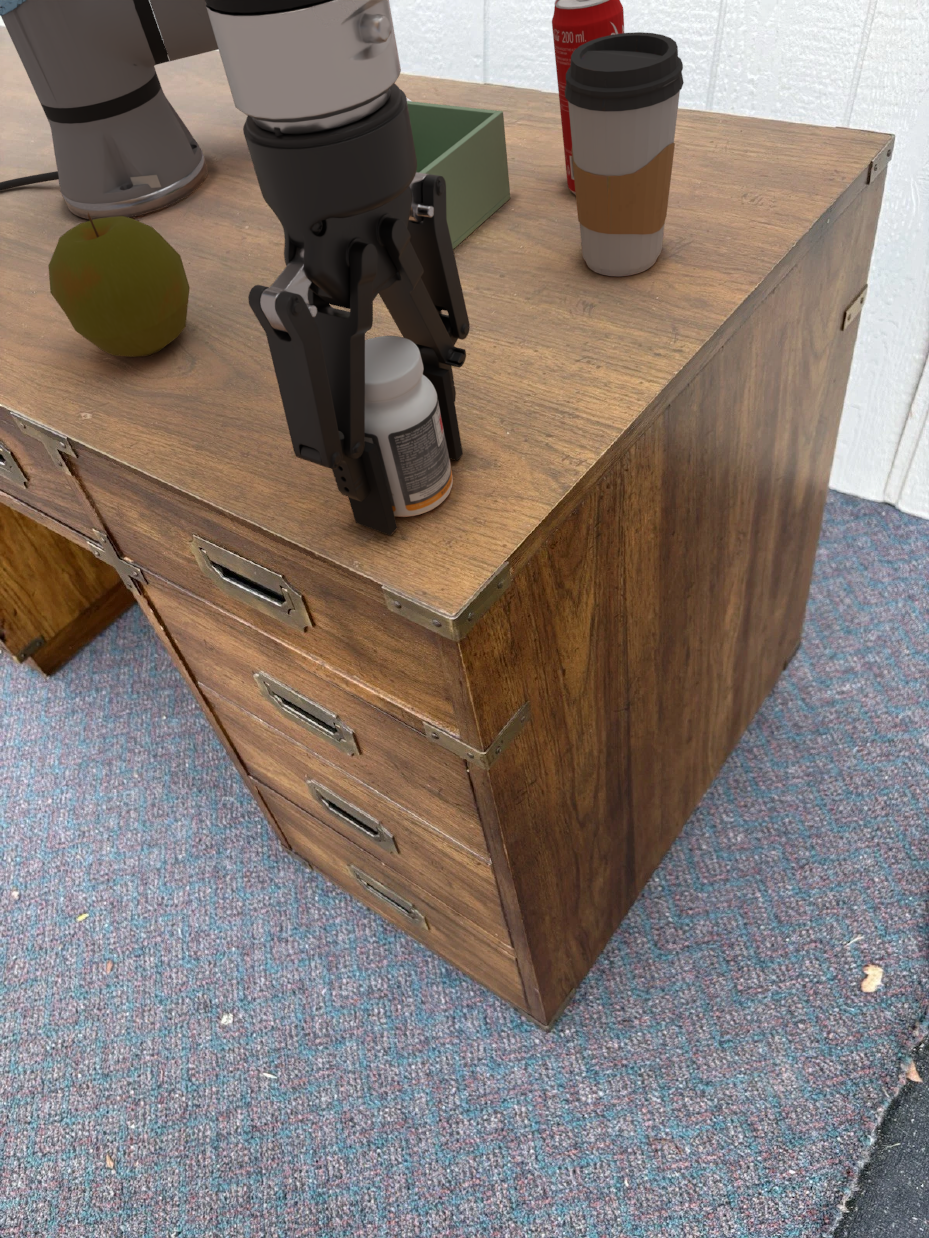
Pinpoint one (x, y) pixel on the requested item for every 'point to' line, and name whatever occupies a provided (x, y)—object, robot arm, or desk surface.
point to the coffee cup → (623, 146)
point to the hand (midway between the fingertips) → (410, 487)
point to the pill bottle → (405, 426)
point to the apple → (120, 285)
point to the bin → (463, 160)
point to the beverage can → (577, 19)
